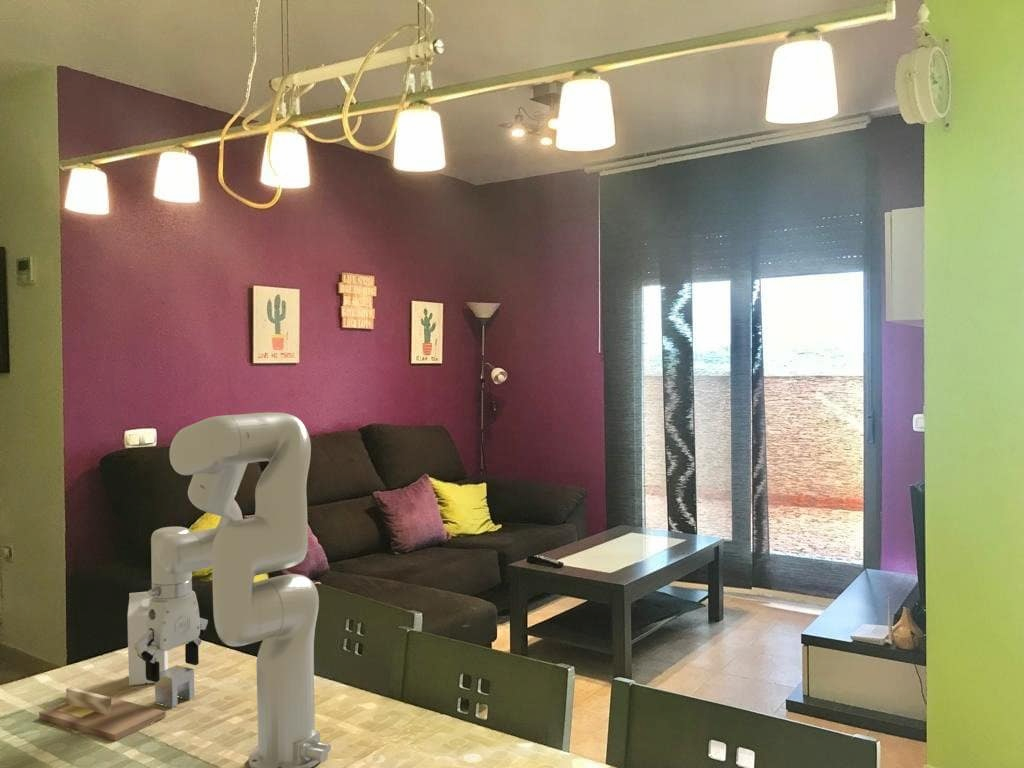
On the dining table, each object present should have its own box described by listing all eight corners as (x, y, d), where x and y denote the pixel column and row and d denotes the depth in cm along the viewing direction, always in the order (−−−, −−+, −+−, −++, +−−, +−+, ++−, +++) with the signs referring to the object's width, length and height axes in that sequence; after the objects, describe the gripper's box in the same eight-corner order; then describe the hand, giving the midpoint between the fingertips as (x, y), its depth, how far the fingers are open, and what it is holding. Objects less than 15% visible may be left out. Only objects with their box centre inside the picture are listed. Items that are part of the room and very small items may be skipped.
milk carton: (133, 674, 182) (131, 589, 181) (168, 670, 184) (166, 586, 183) (129, 686, 175) (126, 597, 174) (165, 682, 177) (163, 594, 176)
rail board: (165, 717, 159) (165, 696, 159) (115, 741, 149) (114, 718, 149) (91, 697, 169) (90, 677, 169) (39, 718, 159) (38, 697, 159)
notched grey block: (194, 698, 168) (193, 669, 168) (172, 708, 164) (172, 678, 163) (177, 693, 171) (176, 665, 170) (155, 703, 166) (154, 674, 166)
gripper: (148, 603, 157) (149, 691, 158) (218, 580, 173) (219, 661, 173) (122, 597, 161) (123, 683, 161) (192, 576, 176) (193, 654, 177)
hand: (172, 671), depth 167 cm, fingers open, 9 cm apart
